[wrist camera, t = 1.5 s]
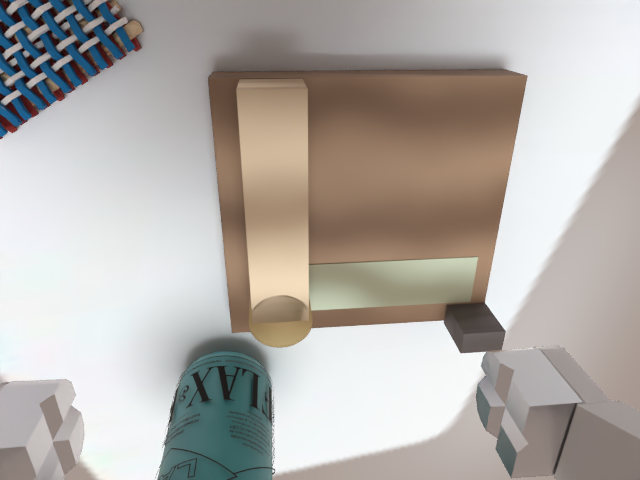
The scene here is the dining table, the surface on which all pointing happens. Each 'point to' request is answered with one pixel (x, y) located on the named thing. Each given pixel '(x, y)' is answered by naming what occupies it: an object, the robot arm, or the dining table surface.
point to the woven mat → (55, 51)
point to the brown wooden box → (388, 195)
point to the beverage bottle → (220, 421)
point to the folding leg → (276, 206)
